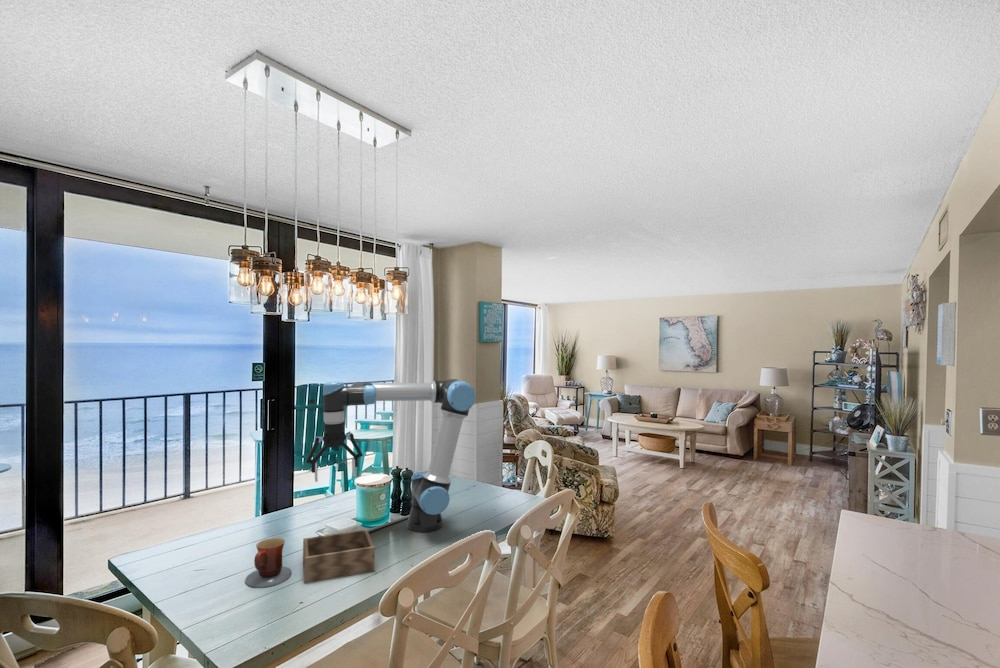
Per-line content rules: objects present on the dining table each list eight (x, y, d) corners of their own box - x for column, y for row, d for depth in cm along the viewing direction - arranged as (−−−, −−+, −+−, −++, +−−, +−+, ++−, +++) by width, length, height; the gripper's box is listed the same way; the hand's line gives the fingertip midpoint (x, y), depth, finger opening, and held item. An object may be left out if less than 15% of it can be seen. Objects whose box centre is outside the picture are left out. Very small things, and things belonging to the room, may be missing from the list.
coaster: (291, 564, 170) (291, 563, 170) (291, 582, 157) (291, 581, 157) (246, 572, 164) (247, 570, 164) (243, 591, 152) (243, 589, 152)
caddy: (366, 550, 182) (367, 529, 182) (374, 570, 166) (374, 547, 166) (303, 560, 173) (303, 538, 173) (304, 583, 157) (304, 558, 157)
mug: (266, 566, 167) (267, 536, 167) (289, 568, 166) (290, 538, 166) (243, 583, 155) (243, 551, 155) (267, 585, 154) (268, 553, 154)
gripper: (365, 418, 192) (367, 471, 191) (298, 424, 181) (299, 480, 181) (369, 420, 185) (370, 476, 185) (299, 427, 174) (300, 485, 174)
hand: (335, 478), depth 183 cm, fingers open, 13 cm apart
